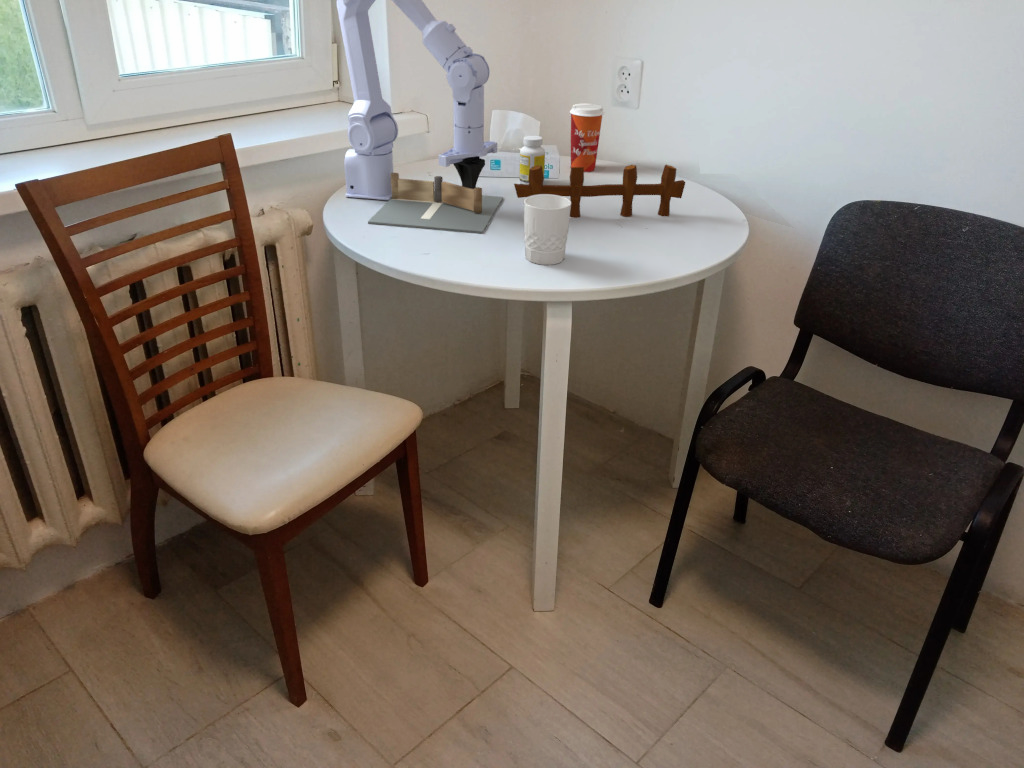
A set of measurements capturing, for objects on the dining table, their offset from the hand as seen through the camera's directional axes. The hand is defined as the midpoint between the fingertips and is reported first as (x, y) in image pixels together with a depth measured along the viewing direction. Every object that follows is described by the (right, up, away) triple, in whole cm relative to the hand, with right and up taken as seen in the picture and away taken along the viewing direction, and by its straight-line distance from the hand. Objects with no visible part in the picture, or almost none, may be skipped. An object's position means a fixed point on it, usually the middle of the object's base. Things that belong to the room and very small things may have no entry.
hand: (468, 195), depth 156 cm
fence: (+25, -4, +1) cm, 26 cm away
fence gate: (-1, -2, +1) cm, 3 cm away
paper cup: (+25, +13, +29) cm, 40 cm away
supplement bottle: (+13, +7, +18) cm, 23 cm away
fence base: (-11, 0, +5) cm, 12 cm away
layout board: (-6, -3, +1) cm, 7 cm away
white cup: (+14, -15, -19) cm, 28 cm away
